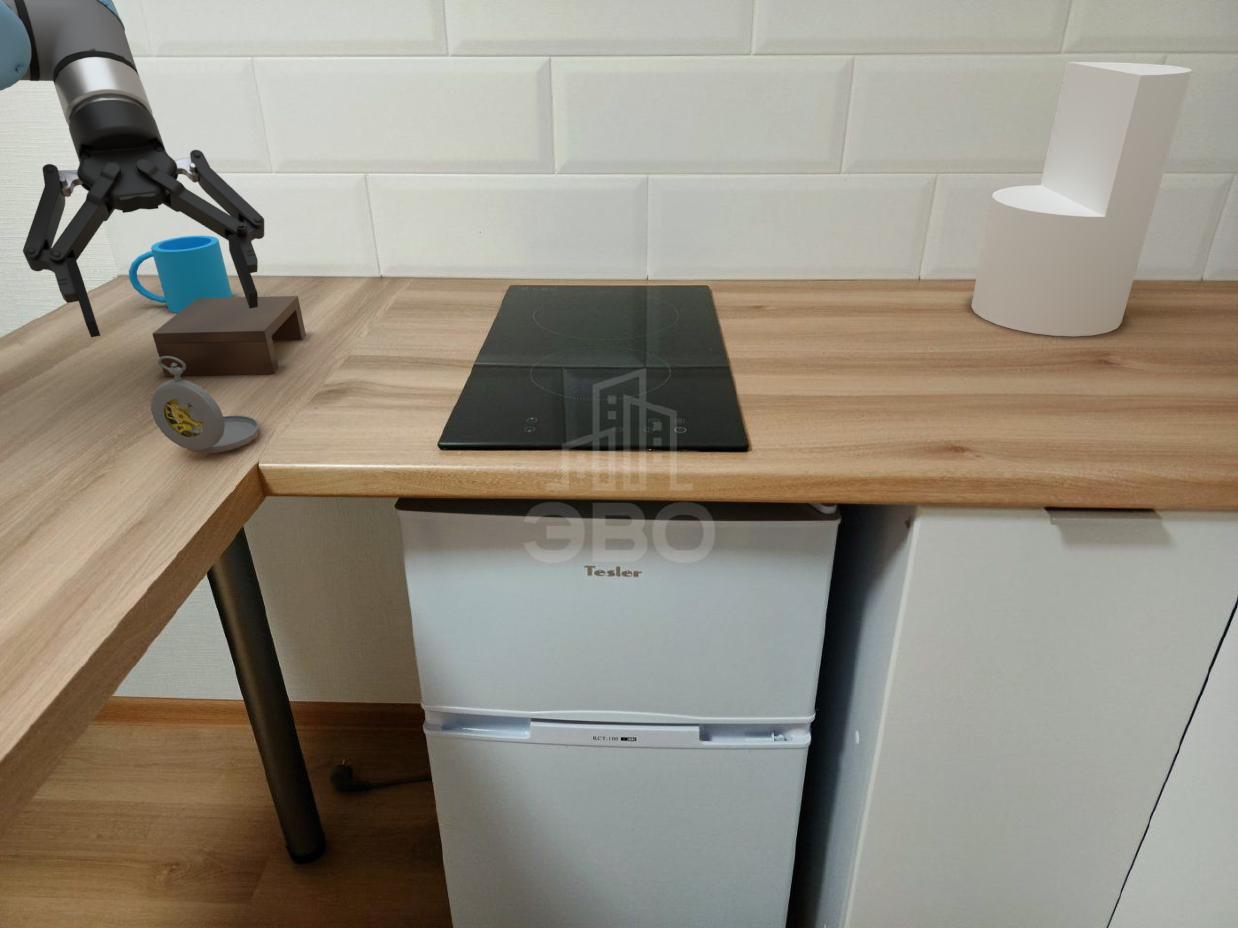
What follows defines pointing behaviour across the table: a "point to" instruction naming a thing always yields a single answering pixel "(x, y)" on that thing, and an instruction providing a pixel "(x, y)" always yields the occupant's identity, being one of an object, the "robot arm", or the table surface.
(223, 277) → the mug
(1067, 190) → the white stepped block
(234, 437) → the pocket watch
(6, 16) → the robot arm
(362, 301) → the table surface
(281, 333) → the stand
